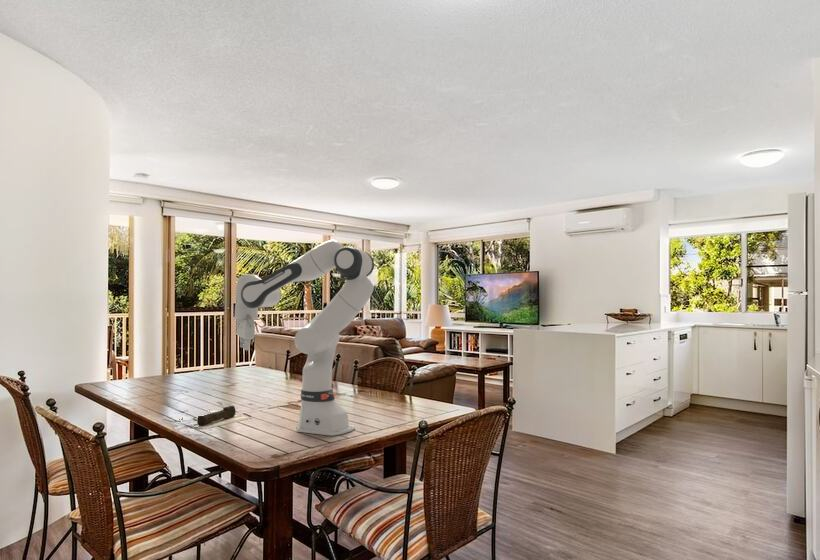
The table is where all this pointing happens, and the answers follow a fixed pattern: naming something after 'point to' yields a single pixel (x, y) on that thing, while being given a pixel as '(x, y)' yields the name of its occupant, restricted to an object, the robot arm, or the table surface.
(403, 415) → the table surface
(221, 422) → the sheet
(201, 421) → the hand tool
